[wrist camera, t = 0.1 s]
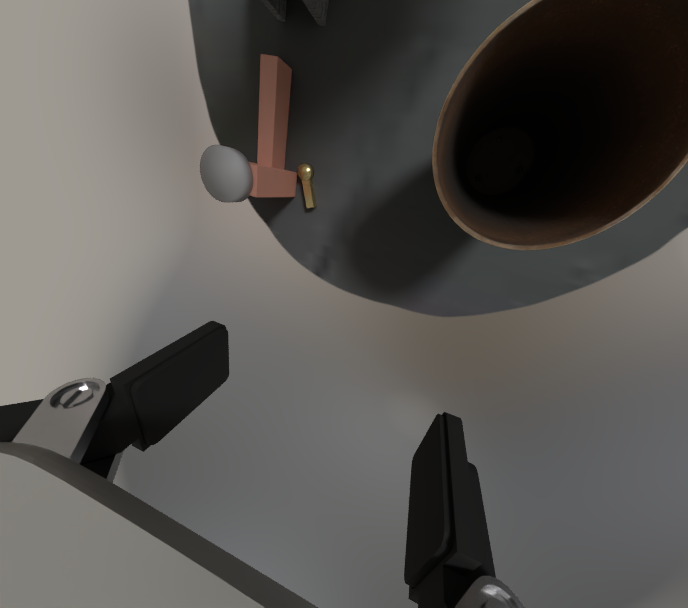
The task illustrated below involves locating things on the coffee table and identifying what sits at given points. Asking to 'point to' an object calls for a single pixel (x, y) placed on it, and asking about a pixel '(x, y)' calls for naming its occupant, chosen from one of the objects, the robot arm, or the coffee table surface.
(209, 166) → the brown mallet
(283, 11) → the block
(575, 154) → the plant pot
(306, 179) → the brass key
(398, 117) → the coffee table surface
